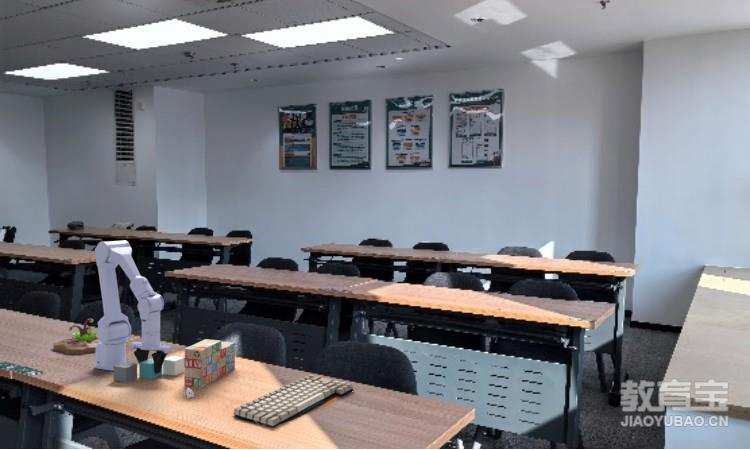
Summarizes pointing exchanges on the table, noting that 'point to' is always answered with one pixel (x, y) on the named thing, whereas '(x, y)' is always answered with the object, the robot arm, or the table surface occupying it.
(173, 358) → the cream block
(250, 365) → the table surface
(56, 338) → the table surface
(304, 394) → the mechanical keyboard
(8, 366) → the table surface
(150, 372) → the teal block
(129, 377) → the charcoal block
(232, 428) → the table surface
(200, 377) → the stack of blocks
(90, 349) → the plant
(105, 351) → the robot arm
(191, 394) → the power adapter
